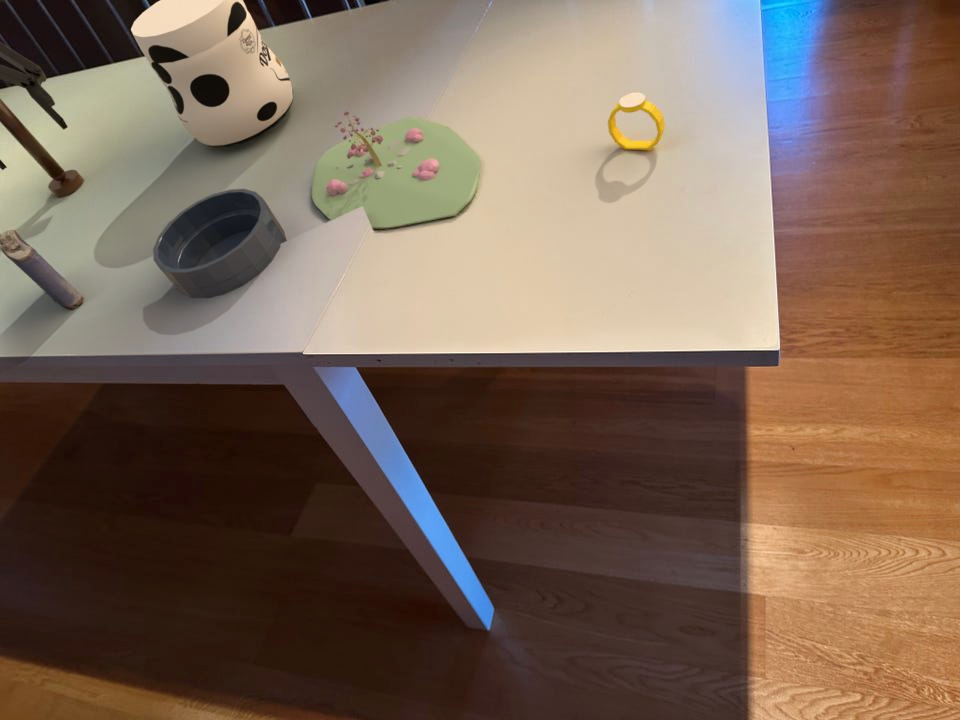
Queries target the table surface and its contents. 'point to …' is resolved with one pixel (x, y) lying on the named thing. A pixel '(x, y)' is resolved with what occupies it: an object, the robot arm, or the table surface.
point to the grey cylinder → (39, 270)
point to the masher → (41, 155)
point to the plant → (397, 173)
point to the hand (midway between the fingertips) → (32, 144)
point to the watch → (634, 104)
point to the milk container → (215, 68)
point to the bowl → (218, 243)
